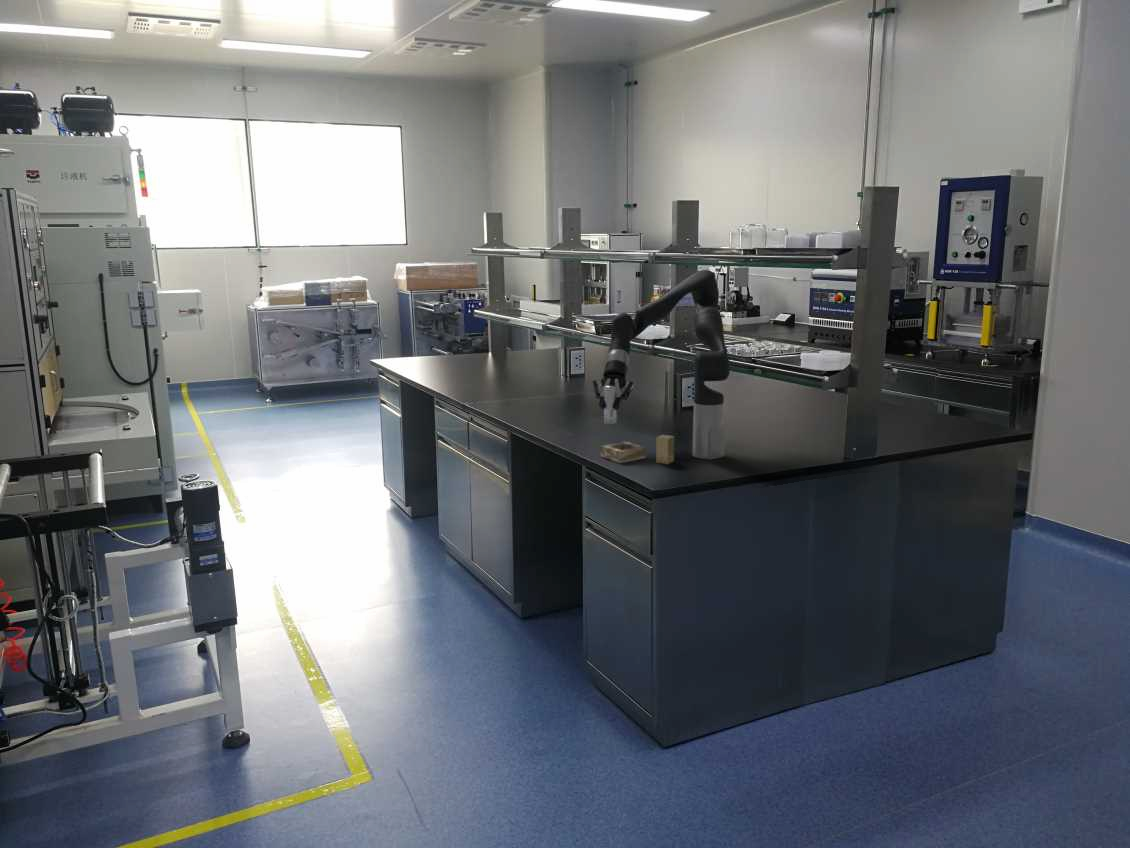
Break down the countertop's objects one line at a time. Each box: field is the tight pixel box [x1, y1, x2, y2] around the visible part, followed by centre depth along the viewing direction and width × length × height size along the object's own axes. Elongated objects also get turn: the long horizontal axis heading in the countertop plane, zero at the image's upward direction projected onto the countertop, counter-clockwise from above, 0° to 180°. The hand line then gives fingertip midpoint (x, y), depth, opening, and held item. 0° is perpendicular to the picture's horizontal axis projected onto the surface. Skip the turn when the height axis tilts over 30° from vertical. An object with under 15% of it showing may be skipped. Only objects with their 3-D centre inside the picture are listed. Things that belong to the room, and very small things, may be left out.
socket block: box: [600, 440, 646, 464], centre depth 268 cm, size 10×10×4 cm
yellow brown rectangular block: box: [655, 434, 675, 465], centre depth 262 cm, size 4×4×8 cm
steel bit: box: [603, 385, 617, 425], centre depth 275 cm, size 4×4×12 cm
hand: (608, 408), depth 274 cm, fingers closed on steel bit, 4 cm apart
